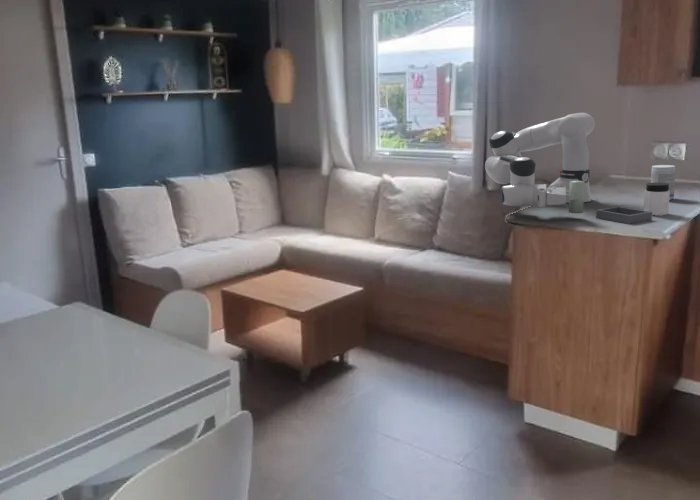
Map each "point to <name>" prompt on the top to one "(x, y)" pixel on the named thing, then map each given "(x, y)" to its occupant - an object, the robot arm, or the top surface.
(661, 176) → the supplement tub
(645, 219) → the tray
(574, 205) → the pale green cylinder
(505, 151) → the robot arm
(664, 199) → the jar
